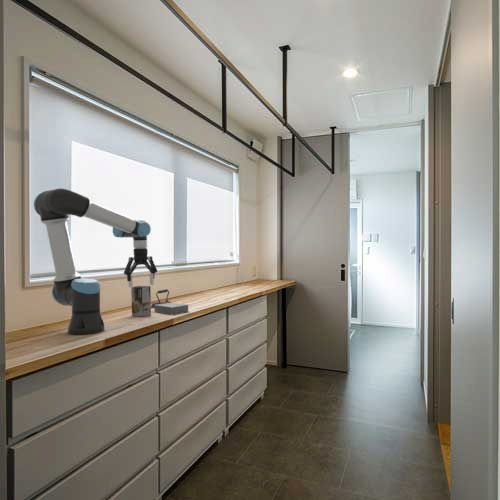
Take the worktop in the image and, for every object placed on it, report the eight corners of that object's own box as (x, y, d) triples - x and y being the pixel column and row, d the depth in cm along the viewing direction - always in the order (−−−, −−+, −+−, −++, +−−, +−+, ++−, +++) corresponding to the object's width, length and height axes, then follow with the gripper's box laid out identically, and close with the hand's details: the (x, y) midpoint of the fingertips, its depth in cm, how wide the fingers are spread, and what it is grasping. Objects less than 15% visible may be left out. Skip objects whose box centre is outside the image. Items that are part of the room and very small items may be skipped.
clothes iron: (162, 308, 228) (161, 291, 228) (150, 307, 233) (150, 290, 233) (176, 305, 241) (176, 288, 241) (165, 304, 245) (165, 288, 245)
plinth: (171, 314, 206) (171, 307, 206) (154, 311, 216) (154, 305, 216) (188, 311, 215) (188, 304, 215) (171, 309, 225) (171, 302, 225)
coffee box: (151, 314, 206) (151, 286, 206) (142, 316, 201) (142, 287, 201) (140, 313, 211) (139, 285, 211) (131, 315, 206) (130, 286, 206)
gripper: (155, 247, 218) (156, 283, 218) (116, 248, 199) (117, 287, 199) (162, 247, 213) (163, 284, 213) (123, 248, 194) (125, 288, 194)
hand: (141, 285), depth 206 cm, fingers open, 13 cm apart
